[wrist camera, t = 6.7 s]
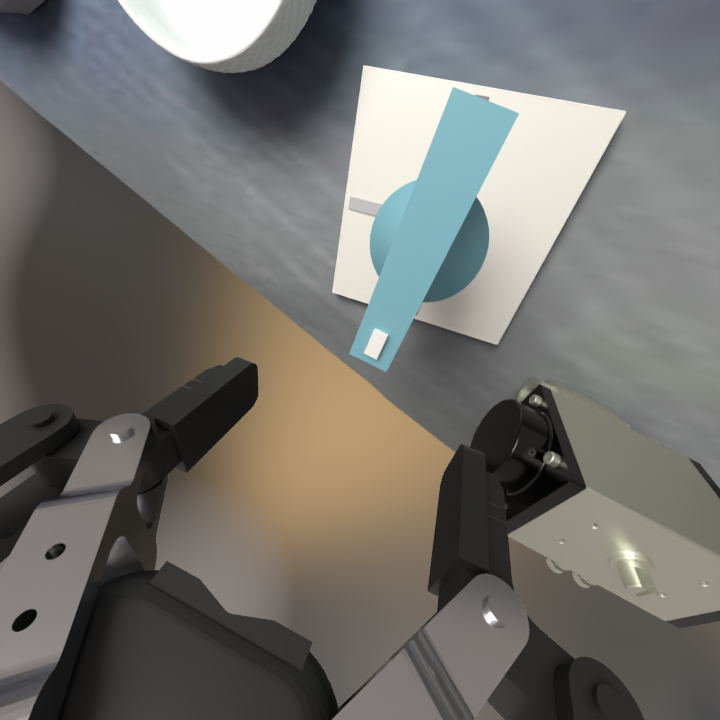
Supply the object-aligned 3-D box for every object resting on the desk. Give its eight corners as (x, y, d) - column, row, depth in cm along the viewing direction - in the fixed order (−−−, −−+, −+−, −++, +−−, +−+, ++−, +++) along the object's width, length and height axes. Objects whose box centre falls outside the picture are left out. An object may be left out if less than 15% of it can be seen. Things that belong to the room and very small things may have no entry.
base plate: (618, 114, 19) (684, 85, 13) (496, 339, 30) (502, 380, 24) (368, 70, 22) (329, 29, 16) (336, 289, 32) (305, 314, 26)
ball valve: (462, 392, 34) (453, 545, 20) (507, 336, 29) (540, 487, 15) (604, 465, 33) (705, 683, 19) (678, 420, 28) (891, 671, 14)
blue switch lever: (423, 108, 16) (389, 59, 10) (539, 156, 16) (588, 138, 9) (358, 293, 23) (312, 339, 17) (436, 331, 23) (421, 393, 16)
